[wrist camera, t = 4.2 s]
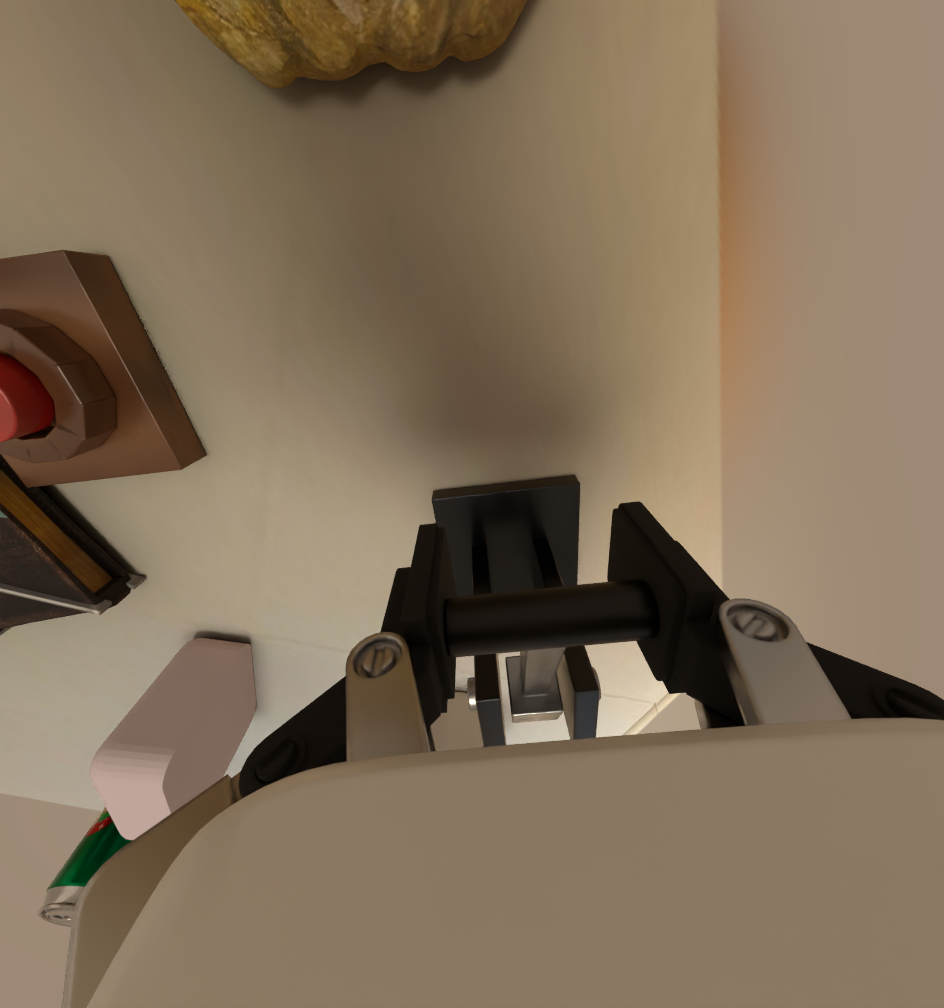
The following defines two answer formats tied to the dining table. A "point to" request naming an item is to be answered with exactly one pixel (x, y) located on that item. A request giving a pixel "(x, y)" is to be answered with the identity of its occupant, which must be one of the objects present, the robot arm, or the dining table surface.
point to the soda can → (81, 869)
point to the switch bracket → (519, 579)
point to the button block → (88, 374)
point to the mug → (457, 726)
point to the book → (50, 560)
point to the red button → (22, 401)
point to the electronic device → (177, 735)
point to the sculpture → (350, 33)
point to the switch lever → (546, 633)
